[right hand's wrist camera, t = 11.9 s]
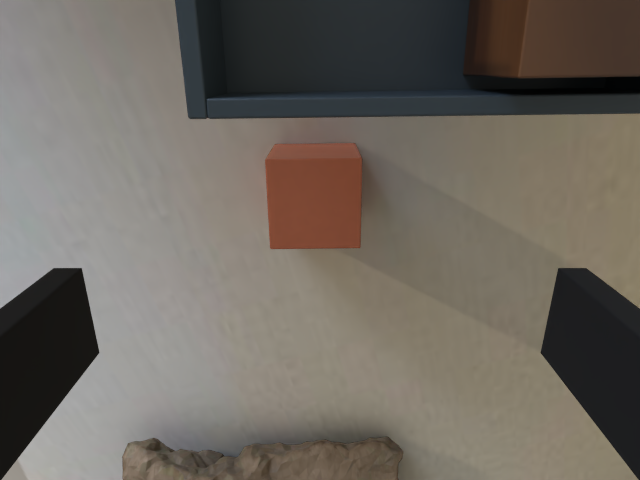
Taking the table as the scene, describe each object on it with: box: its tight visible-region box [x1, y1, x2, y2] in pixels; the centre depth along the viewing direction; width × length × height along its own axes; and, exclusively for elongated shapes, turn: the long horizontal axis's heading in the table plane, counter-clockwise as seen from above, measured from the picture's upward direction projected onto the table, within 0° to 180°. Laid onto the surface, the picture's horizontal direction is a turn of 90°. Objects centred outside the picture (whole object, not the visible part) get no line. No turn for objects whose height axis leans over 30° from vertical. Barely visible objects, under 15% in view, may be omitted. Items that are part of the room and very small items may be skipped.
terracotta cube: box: [265, 143, 362, 249], centre depth 26 cm, size 5×5×5 cm
